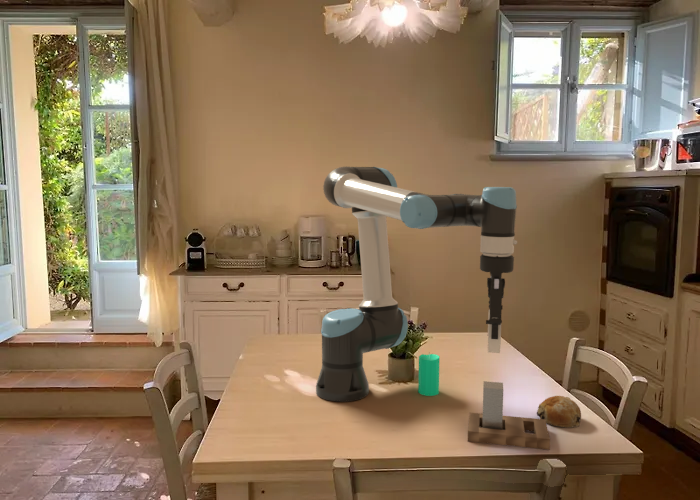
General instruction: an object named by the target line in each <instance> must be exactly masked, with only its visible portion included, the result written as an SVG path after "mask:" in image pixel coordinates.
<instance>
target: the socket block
mask: <svg viewBox="0 0 700 500" xmlns="http://www.w3.org/2000/svg"><path fill="white" fill-rule="evenodd" d="M482 421H483V413H480V412H469V413H468V427H467V442H471V443H479V444H480V443H481V444H488V445H489V444H491V445H499V446H502V445H503V446H509V447H520V448H528V449H529V448H530V449H539V450H540V449H541V450H547V451H550V448H551V445H550V444H551V438H550V433H549V429H548V426H547V425H548V424H547V423H546V421H545V419H540V418H533V417H532V418H531V417H522V416H521V417H520V416H513V415H512V416H511V415H503V418H502V430H499V429H489V428H482ZM528 432H533V433H528Z"/></svg>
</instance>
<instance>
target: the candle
mask: <svg viewBox="0 0 700 500" xmlns="http://www.w3.org/2000/svg"><path fill="white" fill-rule="evenodd" d="M417 383H418V384H417V385H418V387H417V389H418V390H417V391H418V392H417V393H418V394H420V395H422V396H428V397H432V396H438V395H439V394H440V356H439V355H438V354H435V353H428V354H424V353H422V354H420V355H419V356H418V381H417Z"/></svg>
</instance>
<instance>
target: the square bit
mask: <svg viewBox="0 0 700 500" xmlns="http://www.w3.org/2000/svg"><path fill="white" fill-rule="evenodd" d="M482 384H483V392H482V394H483V396H482V414H483V421H482V427H481V428H489V429H499V430H503V429H502V418H503V416H504V415H503V413H504V412H503V411H504V409H503V408H504V382H499V381H497V382H496V381H485V380H484V381H483V383H482Z"/></svg>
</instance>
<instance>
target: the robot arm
mask: <svg viewBox="0 0 700 500" xmlns="http://www.w3.org/2000/svg"><path fill="white" fill-rule="evenodd" d="M322 187H323V188H322V190H323V194H324V196H325V198H326V200H327V201H328V202H329V203H330V204H331V205H333V206H335V207H338V208H339V207H340V208H343V209H351V214H352V216H354V217H355V218H356V219H357V228H358V240H359V243H358V244H359V255H360V268H361V281H362V282H361V283H362V294H363V299H362V301H361V302H360V303H359V304H358V308H351V307H350V308H339V309H336V310H332V311H329V312H328V313H326V314H325V315H324V316H323V317H322V319H321V320H322V321H321V330H320V332H321V369H320V372H319V375H318V378H317V381H316V384H315V385H316V386H315V387H316V388H315V394H316V396H317V397H319V398H321V399H324V400H327V401H331V402H341V403H342V402H354V401H358V400H361V399H364V398H365V397H367V396H368V395H369V392H370V384H369V382H368V378H367V375H366V371H365V369H364V365H363V364H364V354H365V353H370V352H375V351H379V350H385V349H386V350H387V349H388V350H389V349H391V348H394V347H396V346H399V345H400V344H402V342H403V341H404V340H405V339H406V336H407V333H408V329H409V326H408V325H409V324H408V323H409V322H408V317H407V315H406V314H405V311H404V310H403V309H402V308H400V307H399V302H398V301H397V300H396V299H394V297H393V288H392V275H391V265H390V264H391V263H390V262H391V261H390V250H389V249H390V248H389V237H388V235H389V234H388V223H387V217H388V218H391V219H395V220H399V221H402V223H404V225H405V226H406V227H407V228H410V229H419V230H425V229H429V228H447V227H466V226H467V227H478V228H481V229H480V232H481V233H480V245H479V246H480V249H479V252H480V253H482V254H481V255H480V256H479V257H480V258H479V269H480V271H482V272H484V273H489V275H490V277H486V278H487V281H486V282H487V283H486V285H487V286H486V287H487V294H488V295H487V297H488V298H489V301H488V314H487V315H488V316H487V319H486V320H485V325H487V353H492V354H501V338H502V336H501V335H502V323H503V321H502V310H503V307H504V306H503V303H502V302H503V299H504V296H505V295H504V293H505V292H504V290H505V288H506V278H503V277H502V275H503V274H505V273H506V274H510V273H512V272H514V266H515V265H514V264H515V263H514V261H515V257H514V255H513V254H514V252H515V245H517V244H518V240H515V235H516V234H515V233H516V232H515V227H516V217H517V206H518V204H517V191H516V189H515V188H514V187H512V186H507V187H506V186H485V187H484V188H483V189H482V194H480V195H479V194H478V195H477V194H466V193H465V194H464V193H454V194H453V193H452V194H429V193H428V194H427V193H423V192H418V191H413V190H409V189H405V188H400V187H398V184H397V180H396V178H395V176H394V175H393V174H392V173H391V171H389V170H388V169H386V168H383V167H377V166H339V167H337V168H334V169H332V171H330V172H329V173H328V174H327V175H326V177H325V179H324V181H323V186H322Z"/></svg>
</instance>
